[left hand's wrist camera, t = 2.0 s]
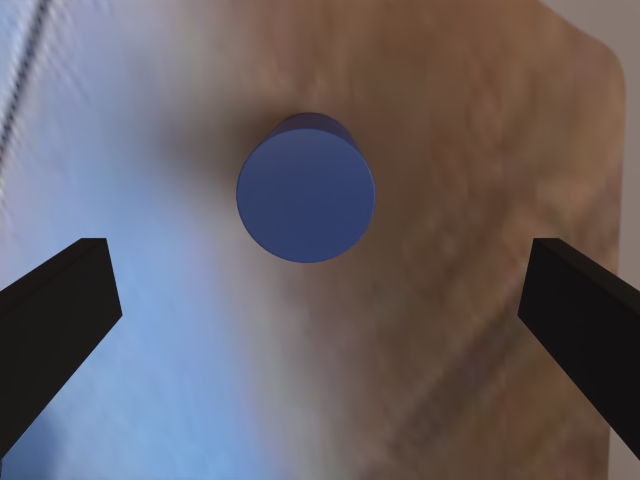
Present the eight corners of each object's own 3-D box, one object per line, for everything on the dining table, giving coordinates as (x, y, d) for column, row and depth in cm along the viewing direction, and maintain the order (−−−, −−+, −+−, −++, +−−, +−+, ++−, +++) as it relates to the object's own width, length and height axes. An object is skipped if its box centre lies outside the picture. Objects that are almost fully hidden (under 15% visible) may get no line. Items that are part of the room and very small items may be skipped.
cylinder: (338, 97, 29) (347, 104, 19) (370, 188, 31) (393, 236, 21) (247, 134, 30) (211, 160, 20) (285, 220, 32) (270, 280, 22)
